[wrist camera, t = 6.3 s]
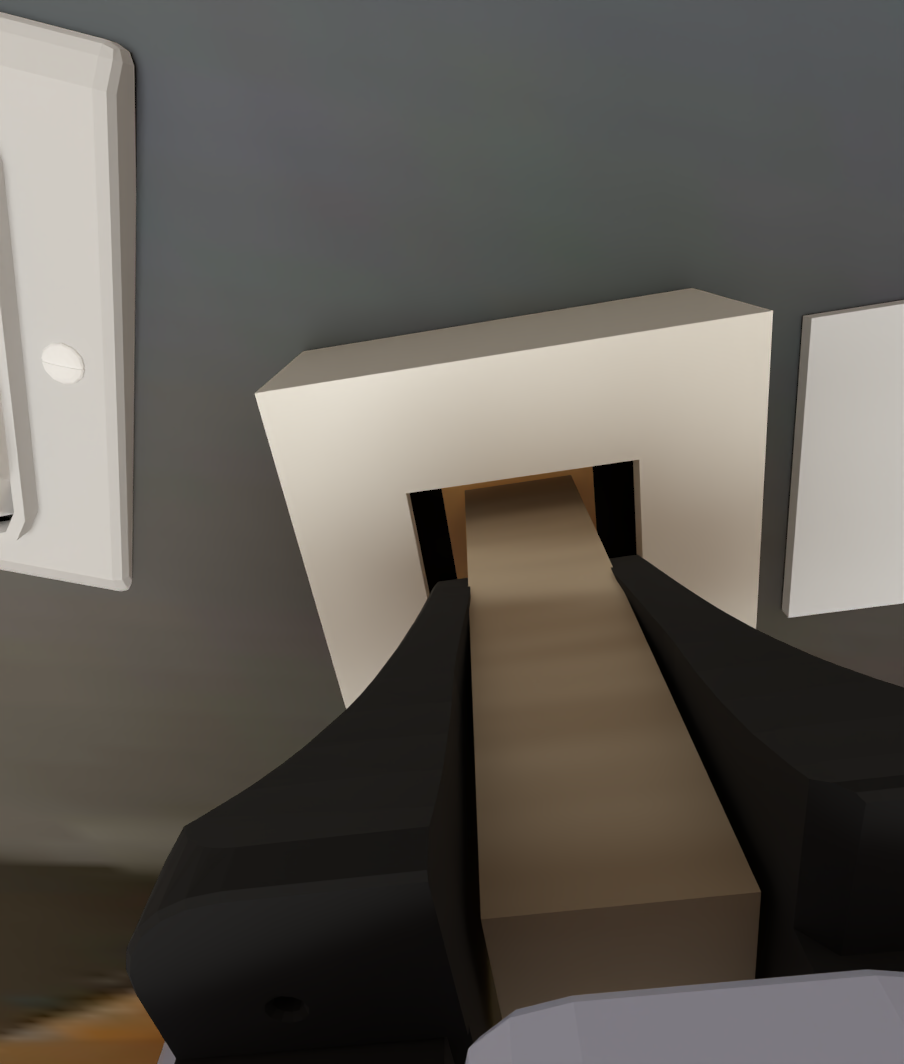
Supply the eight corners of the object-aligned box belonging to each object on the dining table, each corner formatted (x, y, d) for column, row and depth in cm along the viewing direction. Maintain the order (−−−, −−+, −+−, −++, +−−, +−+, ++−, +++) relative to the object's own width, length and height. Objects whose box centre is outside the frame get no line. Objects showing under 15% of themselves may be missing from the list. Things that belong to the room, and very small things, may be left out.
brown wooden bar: (578, 568, 16) (750, 1047, 7) (479, 581, 16) (513, 1067, 7) (571, 474, 15) (760, 891, 6) (464, 490, 15) (480, 920, 6)
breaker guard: (691, 621, 18) (751, 721, 15) (380, 661, 19) (362, 767, 15) (692, 287, 15) (773, 310, 11) (302, 351, 15) (254, 393, 12)
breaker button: (586, 549, 17) (600, 583, 16) (460, 567, 18) (461, 602, 16) (577, 427, 16) (591, 451, 14) (440, 448, 16) (438, 473, 15)
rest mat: (967, 586, 18) (978, 593, 18) (781, 609, 18) (788, 617, 18) (1032, 279, 15) (1047, 280, 14) (802, 315, 15) (811, 318, 14)
